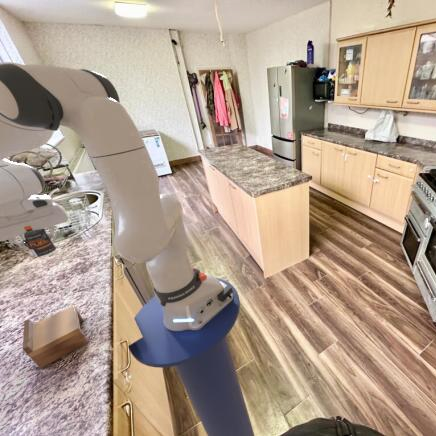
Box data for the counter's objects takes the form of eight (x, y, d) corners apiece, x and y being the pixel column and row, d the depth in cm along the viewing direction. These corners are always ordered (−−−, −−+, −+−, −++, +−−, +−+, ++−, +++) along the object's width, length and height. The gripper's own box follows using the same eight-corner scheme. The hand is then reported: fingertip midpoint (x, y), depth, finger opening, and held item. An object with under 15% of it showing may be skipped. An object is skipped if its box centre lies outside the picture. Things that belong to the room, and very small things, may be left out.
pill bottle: (36, 259, 78) (16, 230, 73) (31, 254, 81) (11, 226, 76) (59, 250, 83) (41, 222, 78) (53, 246, 86) (36, 218, 81)
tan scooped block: (83, 318, 74) (70, 300, 70) (88, 342, 66) (75, 323, 62) (40, 339, 68) (24, 321, 64) (40, 368, 60) (22, 349, 56)
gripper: (-39, 221, 66) (-7, 260, 72) (56, 198, 78) (76, 233, 84) (-35, 215, 70) (-4, 252, 76) (55, 194, 82) (75, 228, 88)
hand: (39, 242), depth 80 cm, fingers closed on pill bottle, 6 cm apart
